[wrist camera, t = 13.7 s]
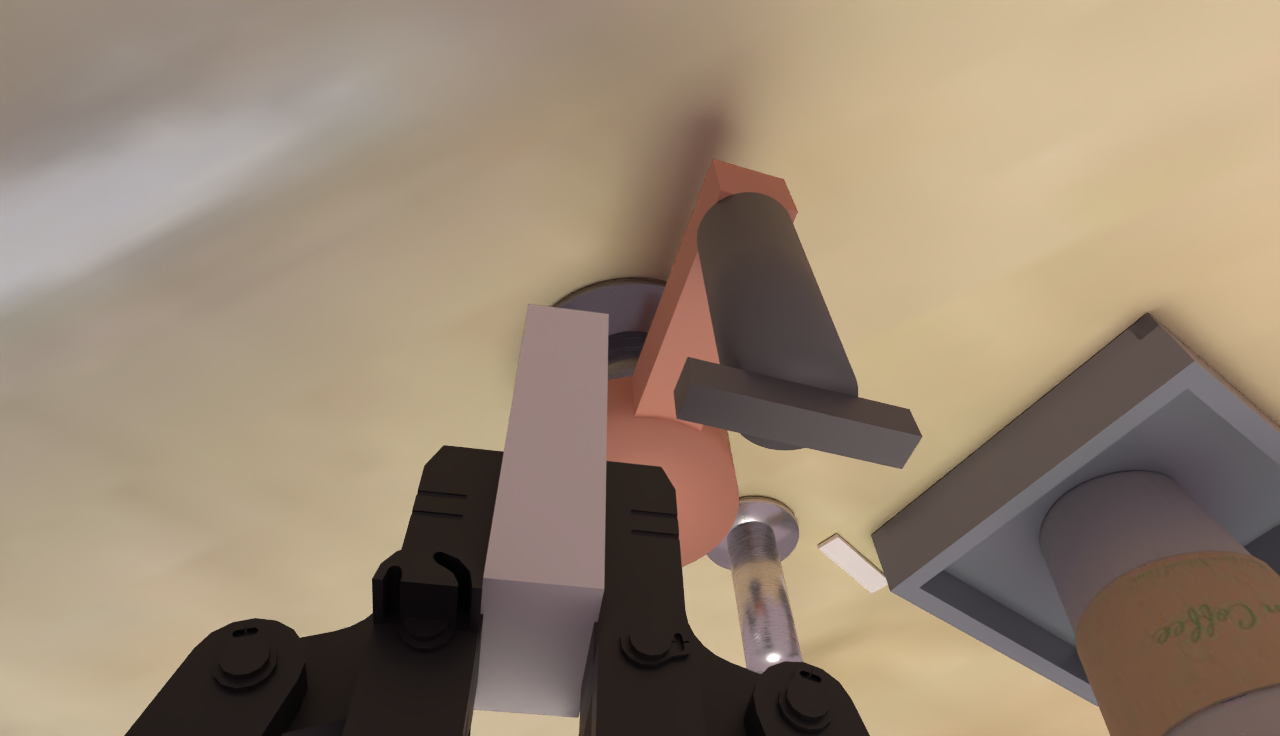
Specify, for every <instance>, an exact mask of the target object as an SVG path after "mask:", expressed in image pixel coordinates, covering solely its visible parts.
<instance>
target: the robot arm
mask: <svg viewBox="0 0 1280 736" xmlns="http://www.w3.org/2000/svg"><path fill="white" fill-rule="evenodd" d="M608 326H609V314H604V313H596V312H588V311H581V310H573V309H565V308H557V307H549V306H541V305H533V304H528V308H527V314H526V320H525V326H524V333H523V339H522V345H521V351H520V357H519V363H518V369H517V375H516V381H515V387H514V393H513V399H512V405H511V412H510V418H509V424H508V430H507V436H506V442H505V448H504V452H501V451H492V450H483V449H473V448H464V447H455V446H445V445H444V446H443V447H442V448H441V449H440V450H439V451H438V452H437V453H436V454H435V455H434V456H433V457H432V458H431V459H430V460H429V461H428V463H427V464H426V465H425V466H424V470H423V474H422V477H421V481H420V484H419V488H418V494H417V495H416V499H415V503H414V506H413V510H412V515H411V517H410V521H409V525H408V528H407V532H406V536H405V539H404V543H403V547H402V550H399V551H397V552H395V553H394V554H393V555H391V556H390V557H389V558H387V559H386V560H385V561H384V562H382V563H381V564H380V566H379V568H378V570H377V571H376V573H375V575H374V577H373V578H372V592H373V613H372V614H371V615H370V616H369V617H367V618H366V619H365V620H363V621H361V622H359V623H357V624H355V625H353V626H351V627H348V628H344V629H341V630H337V631H334V632H328V633H323V634H318V635H313V636H307V637H302V638H299V636H298V635H297V634H296V632H295V631H294V629H292V628H290V627H288V626H286V625H284V624H282V623H280V622H278V621H275V620H266V619H258V618H254V619H249V620H243V621H238V622H233V623H231V624H228V625H226V626H224V627H222V628H220V629H218V630H216V631H214V632H212V633H210V634H209V635H208V636H207V637H206V638H205V639H204V640H203V641H202V642H201V643H199V644H198V645H197V646H196V647H195V648H194V649H193V650H192V652H191V653H190V654H189V655H188V657H187V658H186V659H185V660H184V662H183V663H182V664H181V665H180V667H179V668H178V669H177V670H176V672H175V673H174V674H173V675H172V677H171V678H170V679H169V680H168V682H167V683H166V684H165V685H164V687H163V688H162V689H161V690H160V692H159V693H158V694H157V695H156V697H155V698H154V699H153V700H152V702H151V703H150V704H149V705H148V707H147V708H146V709H145V710H144V712H143V713H142V714H141V715H140V717H139V718H138V719H137V721H136V722H135V723H134V724H133V726H132V727H131V728H130V729H129V731H128V732H127V733H126V734H125V736H470V730H471V722H472V716H473V710H485V711H498V712H511V713H525V714H538V715H551V716H565V717H579V712H580V727H579V736H870V735H869V733H868V731H867V729H866V727H865V725H864V723H863V721H862V719H861V717H860V715H859V713H858V711H857V709H856V707H855V705H854V703H853V701H852V699H851V698H850V696H849V695H848V694H847V692H846V691H845V689H844V688H843V687H842V685H841V684H840V683H839V682H838V681H837V680H836V679H834V678H833V677H832V676H831V675H829V674H828V673H827V672H825V671H824V670H823V669H820V668H818V667H815V666H812V665H810V664H807V663H804V662H790V661H784V662H781V663H778V664H775V665H773V666H770V667H768V668H767V669H766V670H765V671H764V672H763V673H762V674H759V673H756V672H754V671H751V670H748V669H746V668H743V667H741V666H738V665H735V664H733V663H730V662H728V661H726V660H724V659H722V658H720V657H718V656H716V655H715V654H714V653H712V652H711V651H710V650H708V649H707V648H706V647H705V646H703V644H702V643H701V642H700V641H699V640H698V639H697V637H696V636H695V635H694V633H693V631H692V629H691V628H690V626H689V624H688V620H687V616H686V612H685V600H684V588H683V575H682V563H681V550H680V539H679V525H678V519H677V515H678V513H677V500H676V489H675V488H674V486H673V485H672V483H671V481H670V480H669V478H668V476H667V475H666V473H665V472H664V470H663V468H662V467H660V466H650V465H641V464H632V463H622V462H613V461H606V451H607V388H608Z"/></svg>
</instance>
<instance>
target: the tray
mask: <svg viewBox="0 0 1280 736" xmlns="http://www.w3.org/2000/svg"><path fill="white" fill-rule="evenodd" d="M1126 471H1147V472H1155V473H1159V474H1163V475H1166V476H1168V477H1169V478H1171V479H1173V480H1175V481H1176V482H1177V483H1179V484H1180V485H1181V486H1182V487H1183V488H1184V489H1185V490H1186V491H1187V492H1188V493H1189V494H1190V495H1191V496H1192V497H1193V498H1194V499H1195V500H1196V501H1197V502H1198V503H1199V504H1200V505H1201V506H1202V507H1203V508H1204V509H1205V510H1206V511H1207V512H1208V513H1209V514H1210V515H1211V516H1212V517H1213V518H1214V519H1215V520H1216V521H1217V522H1218V523H1219V524H1220V525H1221V526H1222V527H1223V528H1224V529H1225V530H1227V531H1228V532H1229V533H1230V534H1231V535H1232V536H1233V537H1234V538H1235V539H1236V540H1237V541H1238V542H1239V543H1240V544H1241V545H1242V546H1243V547H1244V548H1245V549H1246V550H1247V551H1248V552H1249V553H1250V554H1251V555H1252V556H1254V557H1256V558H1258V559H1260V560H1262V561H1263V562H1265V563H1266V564H1268V565H1269V566H1270V567H1271V568H1272V569H1273V570H1274V571H1275V572H1276V573H1277V574H1278V575H1279V576H1280V426H1278V425H1277V424H1276V423H1275V422H1274V421H1273V420H1272V419H1270V418H1269V417H1268V416H1267V415H1266V414H1265V413H1263V412H1262V411H1261V410H1260V409H1259V408H1258V407H1256V406H1255V405H1254V404H1253V403H1252V402H1251V401H1250V400H1248V399H1247V398H1246V397H1245V396H1244V395H1243V394H1241V393H1240V392H1239V391H1238V390H1237V389H1236V388H1234V387H1233V386H1232V385H1231V384H1230V383H1229V382H1227V381H1226V380H1225V379H1224V378H1223V377H1222V376H1221V375H1219V374H1218V373H1217V372H1216V371H1215V370H1214V369H1212V368H1211V367H1210V366H1209V365H1208V364H1207V363H1205V362H1204V361H1203V360H1202V359H1201V358H1200V357H1198V356H1197V355H1196V354H1195V353H1194V352H1193V351H1192V350H1190V349H1189V348H1188V347H1187V346H1186V345H1185V344H1183V343H1182V342H1181V341H1180V340H1179V339H1178V338H1176V337H1175V336H1174V335H1173V334H1172V333H1171V332H1169V331H1168V330H1167V329H1166V328H1165V327H1164V326H1163V325H1161V324H1160V323H1159V322H1158V321H1157V320H1156V319H1154V318H1153V317H1152V316H1151V315H1150V314H1149V313H1147V314H1146V315H1144V316H1143V317H1142V318H1141V319H1139V320H1138V321H1137V322H1136V323H1134V324H1133V325H1132V326H1131V327H1130V328H1128V329H1127V330H1126V331H1125V332H1123V333H1122V334H1121V335H1120V336H1118V337H1117V338H1116V339H1115V340H1113V341H1112V342H1111V343H1110V344H1108V345H1107V346H1106V347H1105V348H1103V349H1102V350H1101V351H1100V352H1098V353H1097V354H1096V355H1095V356H1094V357H1092V358H1091V359H1090V360H1089V361H1087V362H1086V363H1085V364H1084V365H1082V366H1081V367H1080V368H1079V369H1077V370H1076V371H1075V372H1074V373H1072V374H1071V375H1070V376H1069V377H1067V378H1066V379H1065V380H1064V381H1062V382H1061V383H1060V384H1059V385H1058V386H1056V387H1055V388H1054V389H1053V390H1051V391H1050V392H1049V393H1048V394H1046V395H1045V396H1044V397H1043V398H1041V399H1040V400H1039V401H1038V402H1036V403H1035V404H1034V405H1033V406H1031V407H1030V408H1029V409H1028V410H1026V411H1025V412H1024V413H1023V414H1021V415H1020V416H1019V417H1018V418H1017V419H1015V420H1014V421H1013V422H1012V423H1010V424H1009V425H1008V426H1007V427H1005V428H1004V429H1003V430H1002V431H1000V432H999V433H998V434H997V435H995V436H994V437H993V438H992V439H990V440H989V441H988V442H987V443H985V444H984V445H983V446H982V447H981V448H979V449H978V450H977V451H976V452H974V453H973V454H972V455H971V456H969V457H968V458H967V459H966V460H964V461H963V462H962V463H961V464H959V465H958V466H957V467H956V468H954V469H953V470H952V471H951V472H949V473H948V474H947V475H946V476H945V477H943V478H942V479H941V480H940V481H938V482H937V483H936V484H935V485H933V486H932V487H931V488H930V489H928V490H927V491H926V492H925V493H923V494H922V495H921V496H920V497H918V498H917V499H916V500H915V501H913V502H912V503H911V504H910V505H908V506H907V507H906V508H905V509H904V510H902V511H901V512H900V513H899V514H897V515H896V516H895V517H894V518H892V519H891V520H890V521H889V522H887V523H886V524H885V525H884V526H882V527H881V528H880V529H879V530H877V531H876V532H875V533H874V534H872V535H871V537H872V539H873V542H874V545H875V548H876V551H877V554H878V557H879V560H880V563H881V566H882V569H883V571H884V574H885V577H886V580H887V583H888V586H889V589H890V591H891V592H893V593H894V594H896V595H898V596H900V597H902V598H903V599H905V600H907V601H909V602H911V603H912V604H914V605H916V606H918V607H920V608H921V609H923V610H925V611H927V612H929V613H930V614H932V615H934V616H936V617H938V618H939V619H941V620H943V621H945V622H947V623H948V624H950V625H952V626H954V627H956V628H957V629H959V630H961V631H963V632H965V633H966V634H968V635H970V636H972V637H974V638H975V639H977V640H979V641H981V642H983V643H984V644H986V645H988V646H990V647H992V648H993V649H995V650H997V651H999V652H1001V653H1002V654H1004V655H1006V656H1008V657H1010V658H1011V659H1013V660H1015V661H1017V662H1019V663H1020V664H1022V665H1024V666H1026V667H1028V668H1029V669H1031V670H1033V671H1035V672H1037V673H1038V674H1040V675H1042V676H1044V677H1046V678H1047V679H1049V680H1051V681H1053V682H1055V683H1056V684H1058V685H1060V686H1062V687H1064V688H1065V689H1067V690H1069V691H1071V692H1073V693H1074V694H1076V695H1078V696H1080V697H1082V698H1083V699H1085V700H1087V701H1089V702H1091V703H1092V704H1094V705H1096V706H1099V705H1098V703H1097V700H1096V698H1095V695H1094V693H1093V690H1092V688H1091V685H1090V683H1089V680H1088V678H1087V675H1086V673H1085V670H1084V668H1083V665H1082V663H1081V660H1080V658H1079V655H1078V653H1077V647H1076V642H1075V639H1076V637H1075V634H1074V632H1073V629H1072V627H1071V624H1070V622H1069V619H1068V617H1067V614H1066V612H1065V609H1064V607H1063V604H1062V602H1061V599H1060V597H1059V594H1058V592H1057V589H1056V587H1055V584H1054V582H1053V579H1052V577H1051V574H1050V572H1049V569H1048V567H1047V564H1046V562H1045V559H1044V557H1043V554H1042V550H1041V545H1040V532H1041V528H1042V525H1043V522H1044V520H1045V518H1046V516H1047V514H1048V513H1049V511H1050V509H1051V508H1052V507H1053V506H1054V504H1055V503H1056V502H1057V501H1058V500H1059V499H1060V498H1061V497H1063V496H1064V495H1065V494H1066V493H1067V492H1069V491H1070V490H1072V489H1074V488H1075V487H1077V486H1078V485H1080V484H1083V483H1085V482H1087V481H1089V480H1092V479H1094V478H1098V477H1101V476H1104V475H1108V474H1113V473H1119V472H1126Z"/></svg>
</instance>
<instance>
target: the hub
mask: <svg viewBox="0 0 1280 736" xmlns="http://www.w3.org/2000/svg"><path fill="white" fill-rule="evenodd" d="M666 283H667V282H665V281H661V280H654V279H648V278H623V279H614V280H609V281H604V282H599V283H596V284H593V285H590V286H587V287H585V288H582V289H580V290H578V291H576V292H574V293H572V294H570V295H569V296H567V297H566V298H564V299H562V300H561V301H559V302H558V303H557V304H556V305H555V306H553V307H557V308H565V309H573V310H581V311H588V312H596V313H604V314H609V326H608V380H611V379H616V378H622V377H632V375H633V373H634V370H635V367H636V365H637V362H638V359H639V356H640V354H641V351H642V348H643V346H644V343H645V340H646V337H647V335H648V332H649V329H650V327H651V324H652V321H653V319H654V316H655V313H656V310H657V308H658V305H659V302H660V300H661V297H662V294H663V291H664V289H665V286H666Z"/></svg>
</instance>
